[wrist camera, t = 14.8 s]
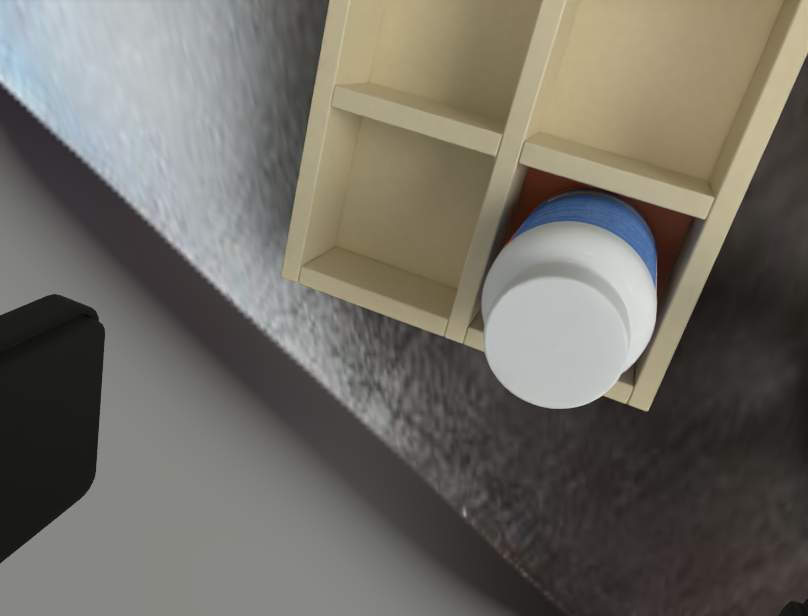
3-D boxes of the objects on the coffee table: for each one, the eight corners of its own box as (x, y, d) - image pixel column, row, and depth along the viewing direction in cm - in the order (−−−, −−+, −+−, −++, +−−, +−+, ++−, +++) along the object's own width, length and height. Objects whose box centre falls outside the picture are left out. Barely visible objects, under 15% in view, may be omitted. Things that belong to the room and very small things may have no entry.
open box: (322, 253, 33) (280, 277, 29) (396, -120, 27) (354, -148, 23) (649, 369, 29) (647, 413, 26) (820, -26, 23) (850, -42, 20)
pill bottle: (515, 187, 28) (450, 246, 19) (658, 181, 26) (658, 242, 18) (521, 316, 30) (464, 424, 21) (656, 319, 28) (655, 437, 19)
